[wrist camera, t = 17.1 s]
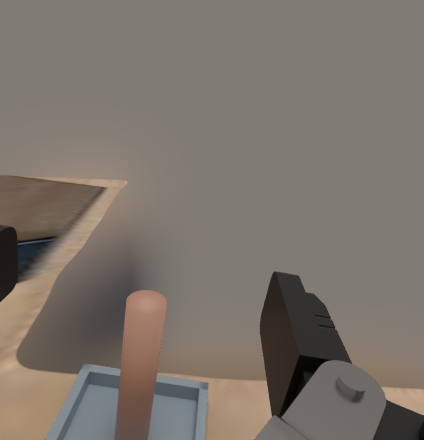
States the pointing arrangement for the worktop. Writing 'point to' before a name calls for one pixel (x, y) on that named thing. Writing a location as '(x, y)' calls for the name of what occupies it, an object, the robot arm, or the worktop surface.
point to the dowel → (139, 363)
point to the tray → (108, 399)
